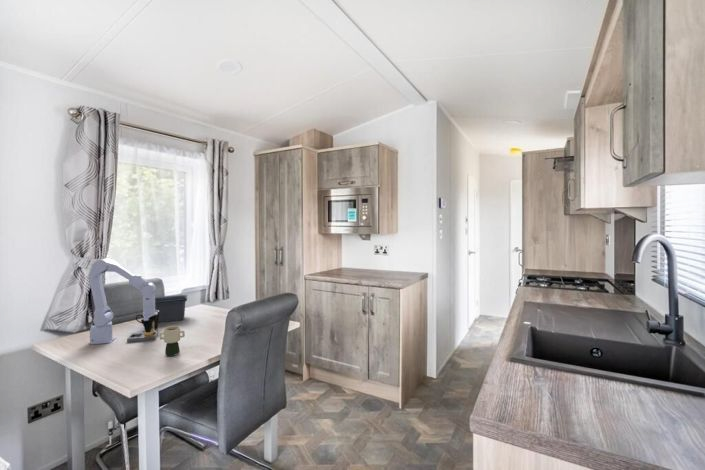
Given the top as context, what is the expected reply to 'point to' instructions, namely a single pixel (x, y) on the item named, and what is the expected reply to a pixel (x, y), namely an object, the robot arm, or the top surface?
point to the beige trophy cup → (171, 339)
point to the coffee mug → (155, 319)
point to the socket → (141, 337)
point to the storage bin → (171, 307)
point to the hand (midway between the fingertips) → (149, 330)
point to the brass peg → (150, 331)
